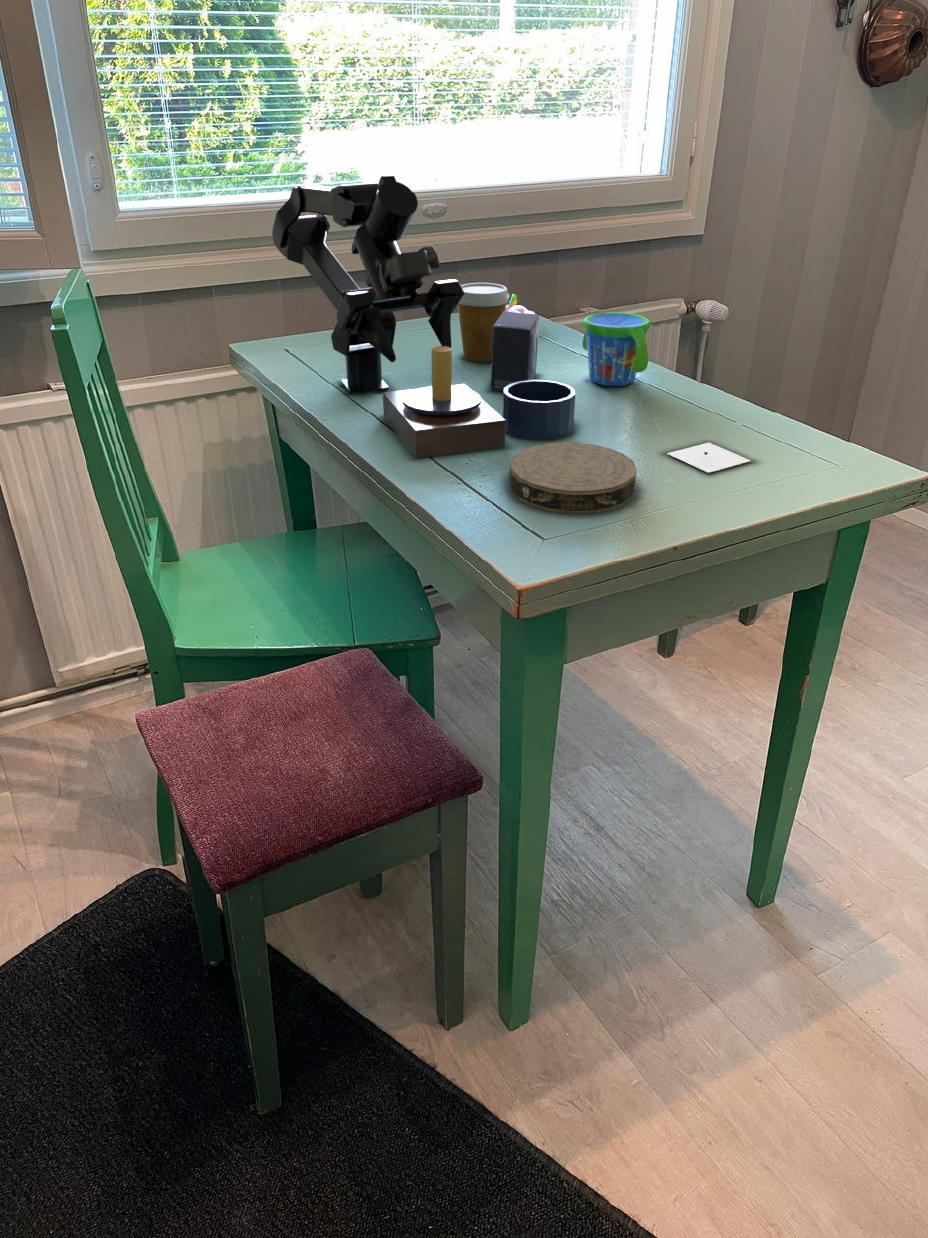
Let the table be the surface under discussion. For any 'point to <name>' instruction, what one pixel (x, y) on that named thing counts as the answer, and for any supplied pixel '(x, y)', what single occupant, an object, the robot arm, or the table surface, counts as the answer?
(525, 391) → the tin
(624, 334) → the snack cup
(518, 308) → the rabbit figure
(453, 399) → the lid
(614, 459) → the brown flat disc
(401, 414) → the block
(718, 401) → the table surface
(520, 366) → the small box
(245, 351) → the table surface
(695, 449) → the coaster
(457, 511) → the table surface
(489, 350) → the disposable coffee cup
